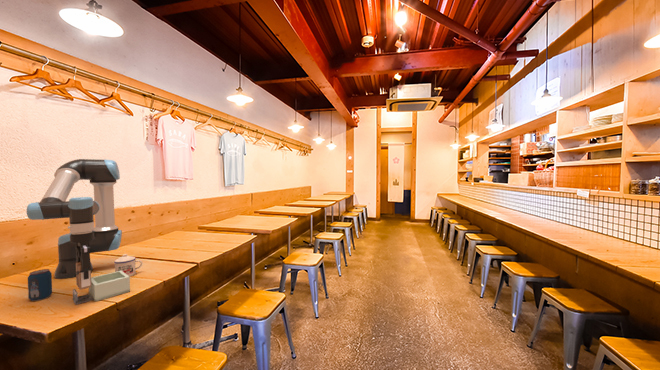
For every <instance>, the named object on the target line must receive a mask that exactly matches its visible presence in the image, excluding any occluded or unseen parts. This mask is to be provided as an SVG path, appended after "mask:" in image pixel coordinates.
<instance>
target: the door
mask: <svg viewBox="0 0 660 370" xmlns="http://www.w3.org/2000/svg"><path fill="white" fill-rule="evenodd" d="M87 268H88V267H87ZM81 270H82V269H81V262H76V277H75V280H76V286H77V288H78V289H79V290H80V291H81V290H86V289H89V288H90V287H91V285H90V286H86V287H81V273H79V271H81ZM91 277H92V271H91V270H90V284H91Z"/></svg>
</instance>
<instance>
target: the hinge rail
mask: <svg viewBox="0 0 660 370" xmlns="http://www.w3.org/2000/svg"><path fill="white" fill-rule="evenodd" d="M71 292H72V301H73V303H74V305H77V306H78V305H80V304H83V303H87V302H91V301H94V298H93V297H92V295H91V294H89V293H88V294H83V295H80V296H79V295H78V291H77V289H75V288H73V289H72V291H71Z"/></svg>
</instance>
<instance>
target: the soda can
mask: <svg viewBox="0 0 660 370" xmlns="http://www.w3.org/2000/svg"><path fill="white" fill-rule="evenodd" d="M52 276H53V275H52V272H51V270H50V269H48V268H46V269H45V268H44V269H39V270H34V271H32V272H30V273H29V275H28V276H27V293H28V294H27V297H28V299H29V301H31V302H36V301H37V302H38V301H42V300H45V299H47V298H49V297H51V295H52V294H53V278H52Z"/></svg>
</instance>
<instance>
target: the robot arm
mask: <svg viewBox="0 0 660 370" xmlns="http://www.w3.org/2000/svg"><path fill="white" fill-rule="evenodd" d="M120 178H121V176H120V170H119V165H118V163H117V162H116V161H115V160H114V159H106V158H105V159H94V158H93V159H91V158H90V159H88V158H87V159H85V158H79V159H74V160H70V161H68V162H65V163H64V164H62V165H60V166H59V167H58V168H57V169H56V170H55V172H54V179H53V180H52V182H51V183H50V185H49V187H48V188H47V190H46V191H45V194H44V195H43V197H42V198H41V200H40V201H38V202H37V201H36V202H31V203H29V204H28V205H27V206H26V216H27V218H28V219H29V220H32V221H33V220H35V221H37V220H42V221H44V220H53V219H69V226H67V229H69V233H66V234H61V235H60V236H59V237H58V240H57V241H58V243H57V248H58V249H57V252H58V254H57V255H58V263H57V267H56V268H55V272H54V275H53V276H54V279H59V280H60V279H61V280H62V279H69V278H76V262H81V269H82V270H81V271H79V273H81V287H86V286H90V285H91V284H90V270H91V272H93V271H94V269H93V268H94V266H93V264H92V262H91V255H90V254H94V253H95V254H96V253H102V252H111V251H115V250H118V249H119V248H120V246H121V242H122V234H123V231H122V229H119V226H118V225H116V222H115V221H116V219H115V218H116V217H115V215H116V214H115V197H114V195H115V194H114V185H116V183H117V181H118V180H120ZM81 180H82V181H83V180H85V181H87V180H88V181H89V184H91V185H92V186H93V197H91V196H87V197H86V196H79V197H78V196H77V197H71V198H69V195H70V193H71V191H72V190H73V187H74V185H75V184H76V183H78V182H79V181H81ZM68 198H69V200H68ZM87 267H88V268H87Z"/></svg>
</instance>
